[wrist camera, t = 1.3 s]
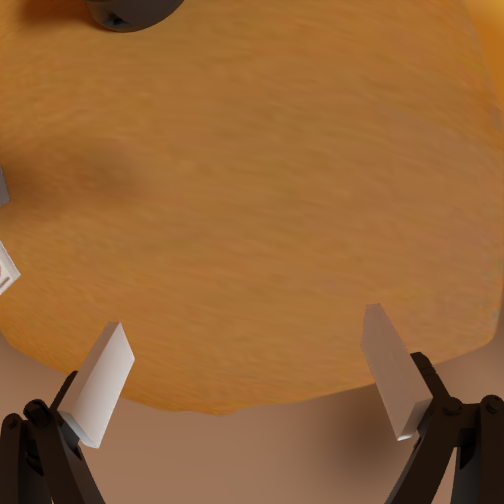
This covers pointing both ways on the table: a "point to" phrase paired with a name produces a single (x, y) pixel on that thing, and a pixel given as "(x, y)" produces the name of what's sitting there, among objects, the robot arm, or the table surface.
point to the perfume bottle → (3, 189)
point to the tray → (6, 270)
